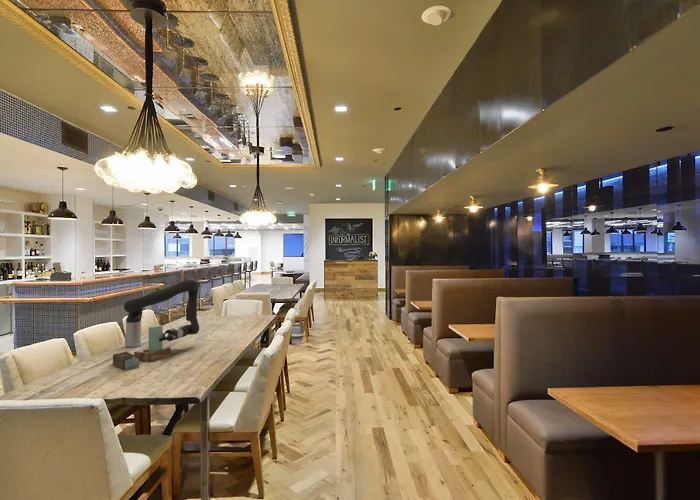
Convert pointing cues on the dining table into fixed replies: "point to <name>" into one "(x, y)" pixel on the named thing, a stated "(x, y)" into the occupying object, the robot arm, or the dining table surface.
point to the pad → (177, 351)
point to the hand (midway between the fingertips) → (154, 339)
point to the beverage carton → (125, 360)
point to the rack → (153, 355)
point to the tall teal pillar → (155, 338)
